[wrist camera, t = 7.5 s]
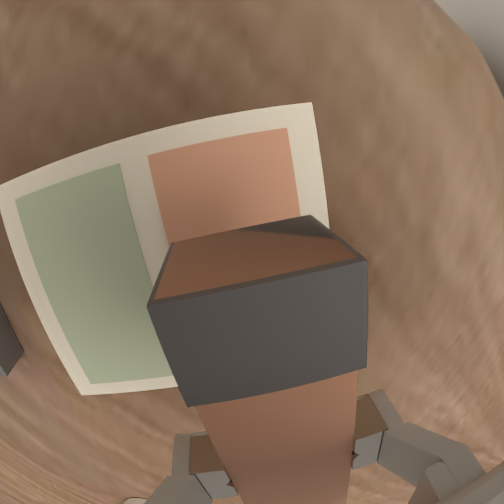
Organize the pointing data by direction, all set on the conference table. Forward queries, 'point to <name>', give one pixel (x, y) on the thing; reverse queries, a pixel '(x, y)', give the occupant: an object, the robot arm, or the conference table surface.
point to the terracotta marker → (269, 352)
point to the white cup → (135, 501)
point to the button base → (8, 346)
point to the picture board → (148, 228)
